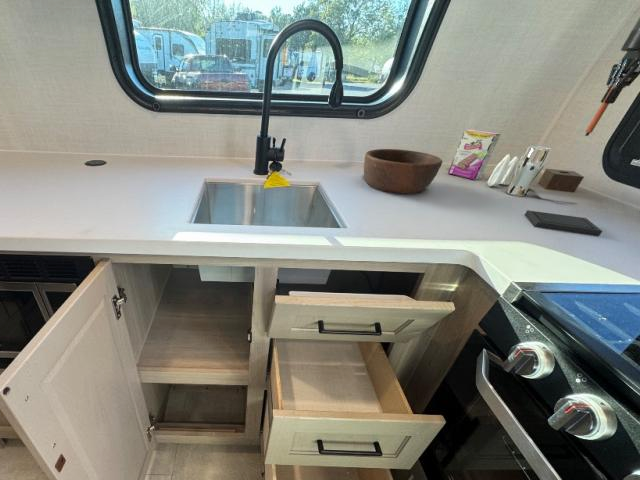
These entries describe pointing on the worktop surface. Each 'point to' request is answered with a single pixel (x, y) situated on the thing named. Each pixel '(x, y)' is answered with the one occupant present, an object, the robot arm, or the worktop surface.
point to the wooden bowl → (400, 170)
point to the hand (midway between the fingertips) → (606, 102)
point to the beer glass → (528, 169)
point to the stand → (560, 180)
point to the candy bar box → (473, 154)
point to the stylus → (597, 116)
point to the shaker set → (503, 171)
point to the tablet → (561, 227)
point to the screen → (562, 220)
